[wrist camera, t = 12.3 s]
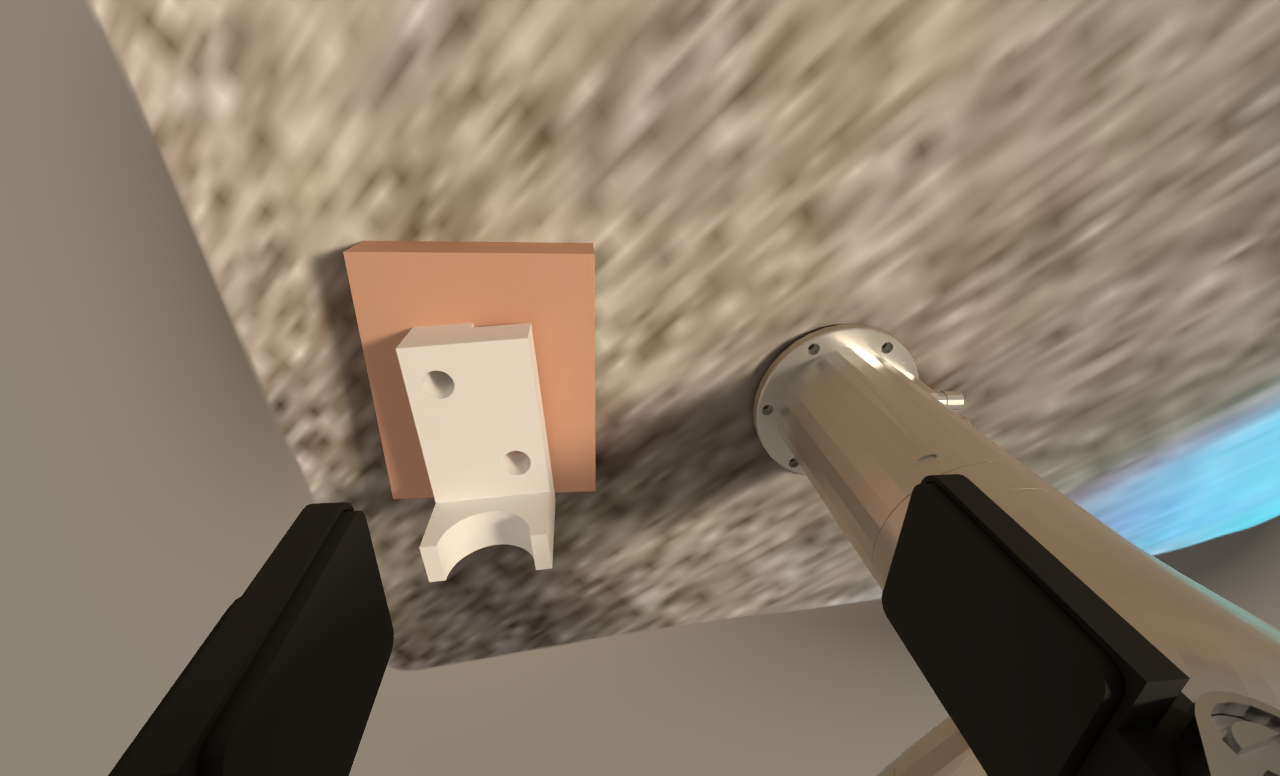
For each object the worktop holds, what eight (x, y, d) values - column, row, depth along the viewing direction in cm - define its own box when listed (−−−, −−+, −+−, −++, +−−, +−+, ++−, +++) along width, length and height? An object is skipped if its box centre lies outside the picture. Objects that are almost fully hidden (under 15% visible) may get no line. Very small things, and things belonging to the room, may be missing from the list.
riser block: (592, 240, 36) (594, 253, 32) (593, 460, 43) (595, 491, 39) (367, 238, 34) (343, 251, 30) (409, 466, 41) (393, 499, 38)
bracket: (556, 491, 39) (552, 568, 32) (455, 501, 38) (429, 582, 32) (532, 317, 33) (521, 366, 26) (413, 327, 33) (370, 379, 26)
